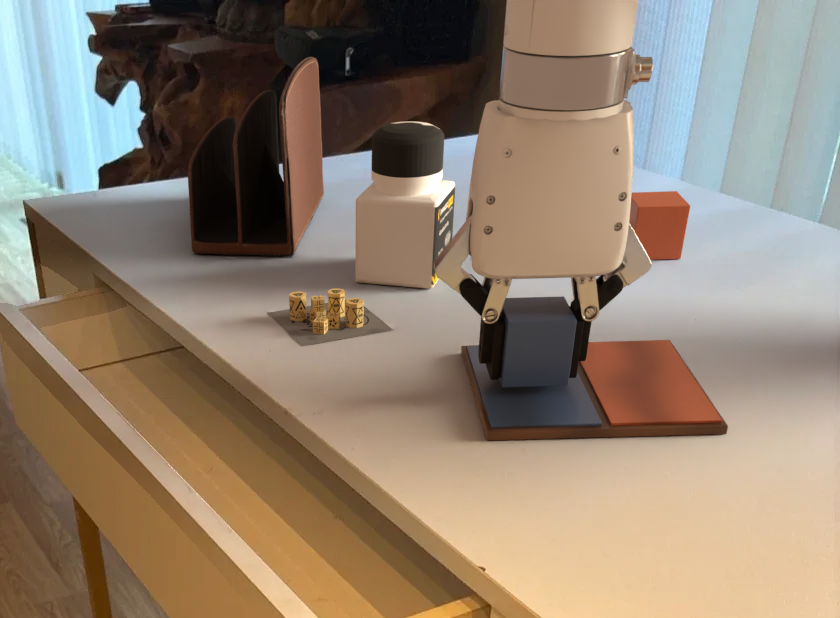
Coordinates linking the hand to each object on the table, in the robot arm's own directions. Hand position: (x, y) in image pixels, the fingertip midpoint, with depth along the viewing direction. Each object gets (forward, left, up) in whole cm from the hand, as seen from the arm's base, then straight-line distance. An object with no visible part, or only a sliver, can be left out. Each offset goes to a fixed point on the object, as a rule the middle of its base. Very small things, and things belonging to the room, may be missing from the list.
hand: (530, 368), depth 79 cm
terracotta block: (-16, -30, -2) cm, 34 cm away
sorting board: (-4, 0, -2) cm, 4 cm away
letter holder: (+20, -42, -2) cm, 46 cm away
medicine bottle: (+7, -26, -2) cm, 27 cm away
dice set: (+14, -15, -2) cm, 21 cm away
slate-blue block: (0, 0, 0) cm, 0 cm away
